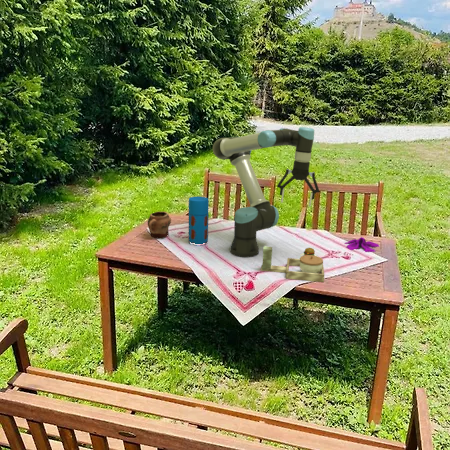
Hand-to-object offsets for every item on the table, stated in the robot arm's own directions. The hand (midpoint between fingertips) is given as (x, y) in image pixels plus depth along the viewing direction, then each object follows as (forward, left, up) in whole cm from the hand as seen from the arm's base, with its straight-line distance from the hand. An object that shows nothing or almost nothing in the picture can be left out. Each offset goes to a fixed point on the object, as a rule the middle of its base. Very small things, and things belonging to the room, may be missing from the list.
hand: (295, 203), depth 213 cm
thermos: (-52, +14, -30) cm, 61 cm away
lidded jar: (+9, -17, -30) cm, 35 cm away
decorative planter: (-76, +17, -30) cm, 83 cm away
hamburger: (+9, +6, -30) cm, 32 cm away
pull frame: (+1, -16, -29) cm, 33 cm away
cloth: (+37, +30, -30) cm, 57 cm away
